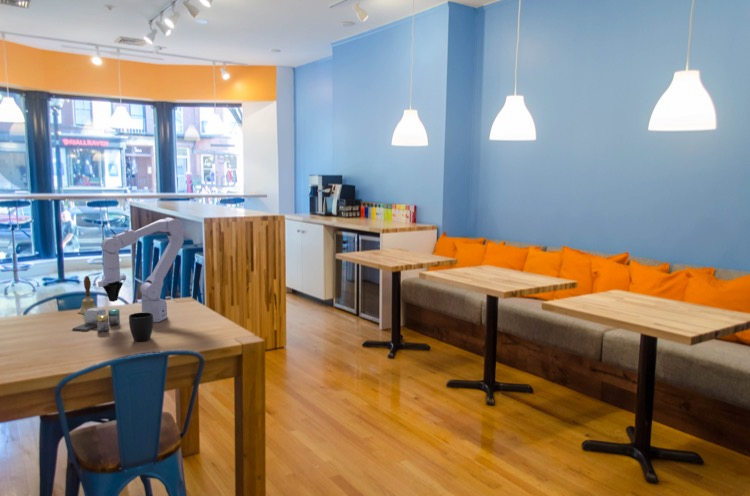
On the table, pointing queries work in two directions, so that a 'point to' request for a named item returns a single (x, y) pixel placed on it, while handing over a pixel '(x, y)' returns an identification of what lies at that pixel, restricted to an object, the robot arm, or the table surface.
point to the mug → (141, 326)
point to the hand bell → (87, 297)
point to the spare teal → (114, 317)
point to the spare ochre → (102, 324)
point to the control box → (93, 315)
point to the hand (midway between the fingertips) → (113, 300)
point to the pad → (84, 327)
